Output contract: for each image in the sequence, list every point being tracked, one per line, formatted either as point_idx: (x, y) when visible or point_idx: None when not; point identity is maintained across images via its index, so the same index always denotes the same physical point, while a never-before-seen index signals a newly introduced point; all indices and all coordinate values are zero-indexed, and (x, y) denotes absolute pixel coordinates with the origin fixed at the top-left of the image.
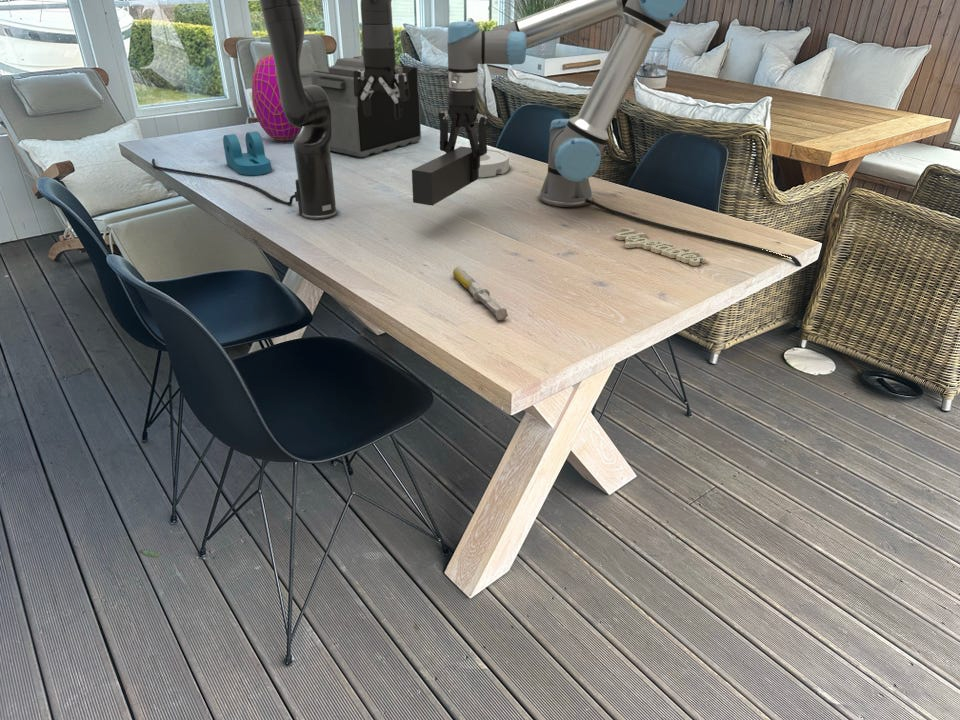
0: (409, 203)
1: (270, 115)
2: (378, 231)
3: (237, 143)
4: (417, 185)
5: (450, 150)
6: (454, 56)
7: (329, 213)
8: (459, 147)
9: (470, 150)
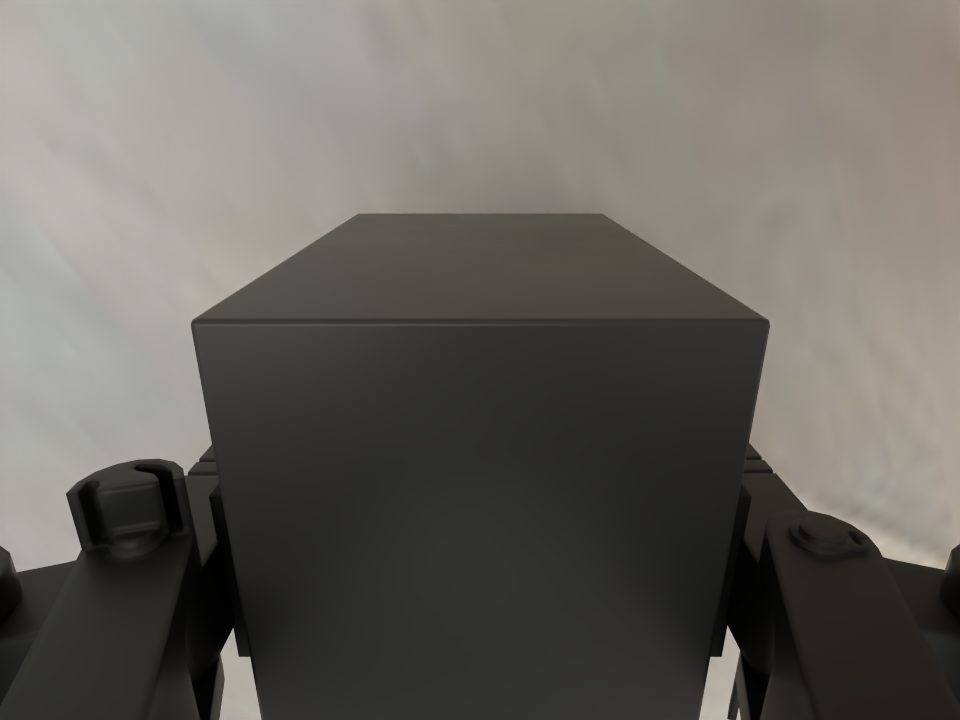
0: (10, 264)
1: None
2: (225, 716)
3: None
4: None
5: (217, 710)
6: None
7: None
8: (236, 448)
9: (625, 573)
